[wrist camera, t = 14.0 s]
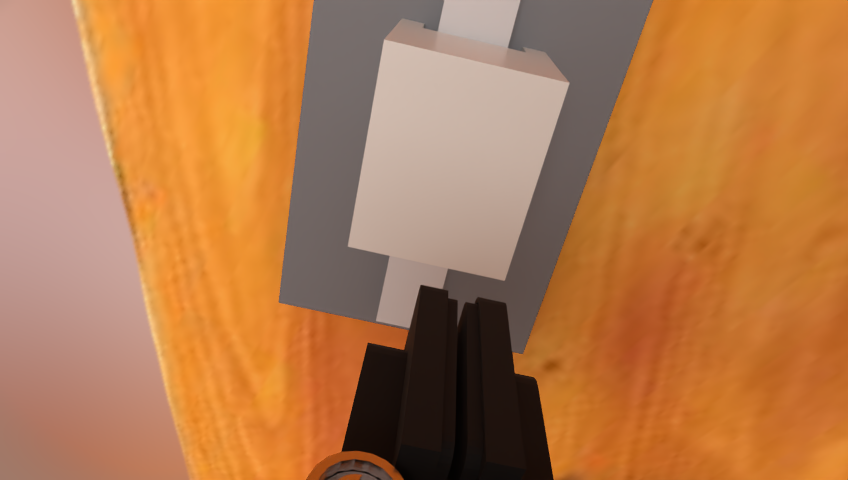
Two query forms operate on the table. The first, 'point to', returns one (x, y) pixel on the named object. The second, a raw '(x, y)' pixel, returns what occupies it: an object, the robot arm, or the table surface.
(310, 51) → the rail board
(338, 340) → the table surface
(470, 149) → the block
